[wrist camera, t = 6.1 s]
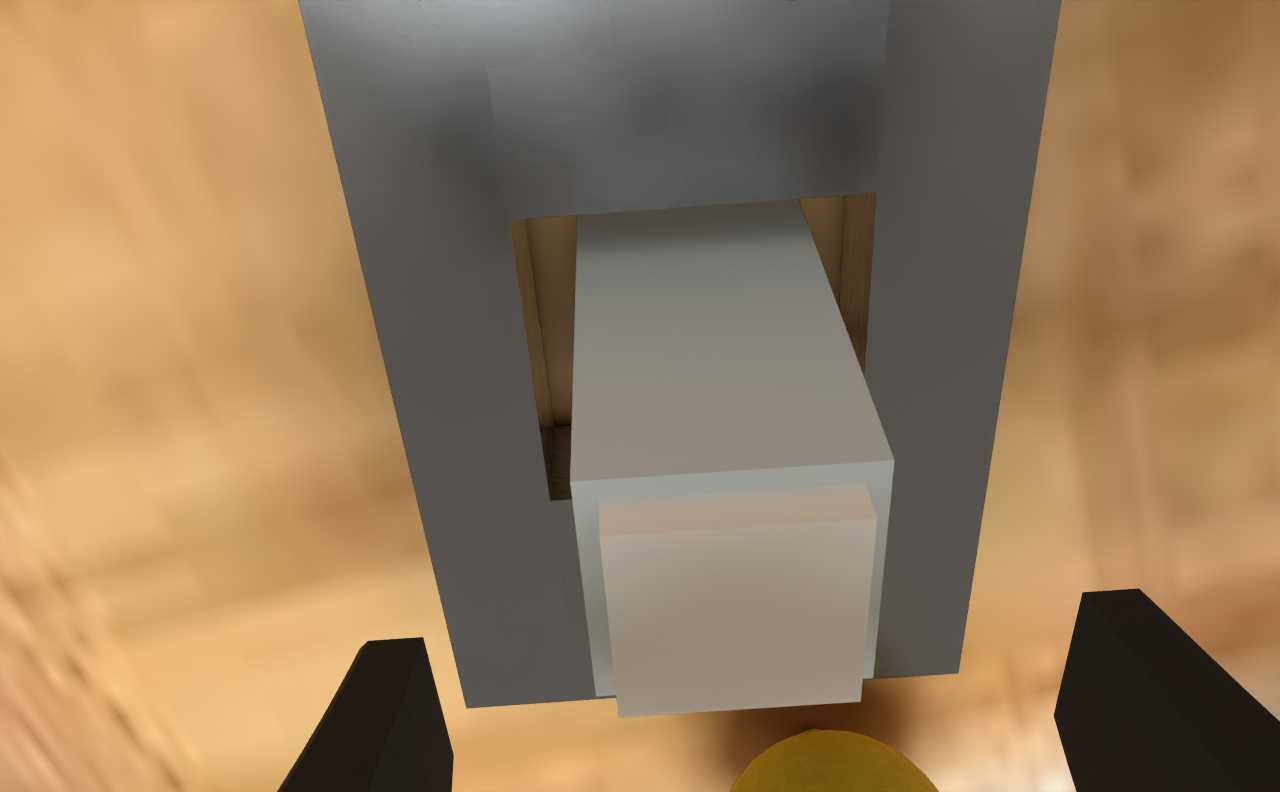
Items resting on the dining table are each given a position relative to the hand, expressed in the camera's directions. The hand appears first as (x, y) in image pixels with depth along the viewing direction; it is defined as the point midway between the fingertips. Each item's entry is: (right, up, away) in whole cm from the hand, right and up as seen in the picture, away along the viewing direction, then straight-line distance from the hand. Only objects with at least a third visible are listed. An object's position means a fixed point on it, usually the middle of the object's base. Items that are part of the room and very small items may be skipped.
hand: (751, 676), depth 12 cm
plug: (0, +5, +7) cm, 9 cm away
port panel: (0, +5, +7) cm, 9 cm away
